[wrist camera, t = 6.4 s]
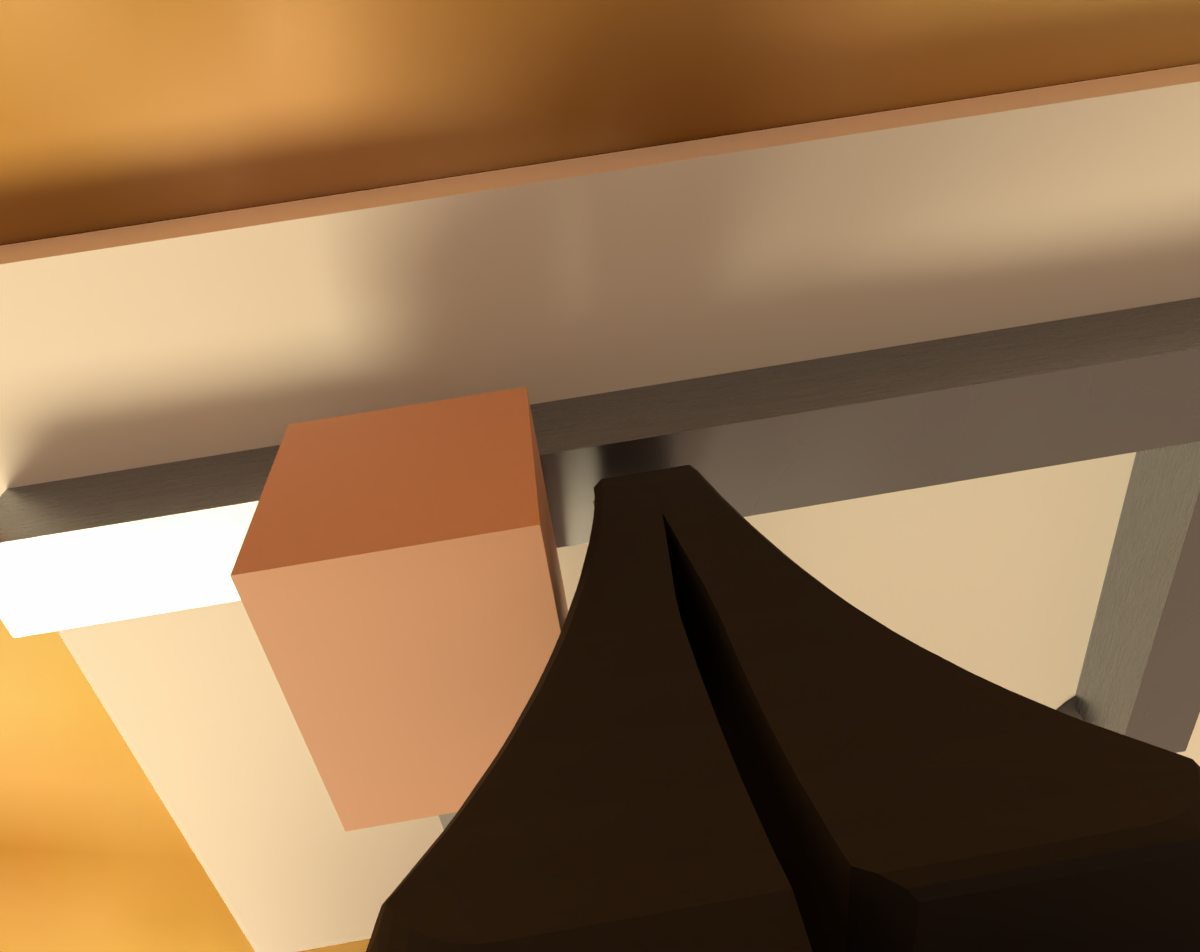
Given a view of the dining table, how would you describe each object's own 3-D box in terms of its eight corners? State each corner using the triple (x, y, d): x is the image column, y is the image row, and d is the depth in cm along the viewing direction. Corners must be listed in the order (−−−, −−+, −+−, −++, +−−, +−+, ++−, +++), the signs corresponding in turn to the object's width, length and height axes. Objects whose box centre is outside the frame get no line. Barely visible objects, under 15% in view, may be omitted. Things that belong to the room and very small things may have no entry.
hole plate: (1249, 743, 21) (1282, 778, 21) (267, 916, 21) (258, 961, 20) (1559, 9, 13) (1639, 15, 12) (-111, 262, 12) (-157, 289, 11)
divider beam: (1258, 673, 20) (1349, 761, 18) (253, 849, 19) (226, 961, 17) (1438, 230, 14) (1600, 283, 12) (35, 453, 14) (-45, 549, 12)
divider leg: (613, 845, 18) (646, 1073, 15) (471, 870, 18) (469, 1104, 15) (522, 344, 12) (540, 524, 8) (305, 378, 12) (229, 575, 8)
